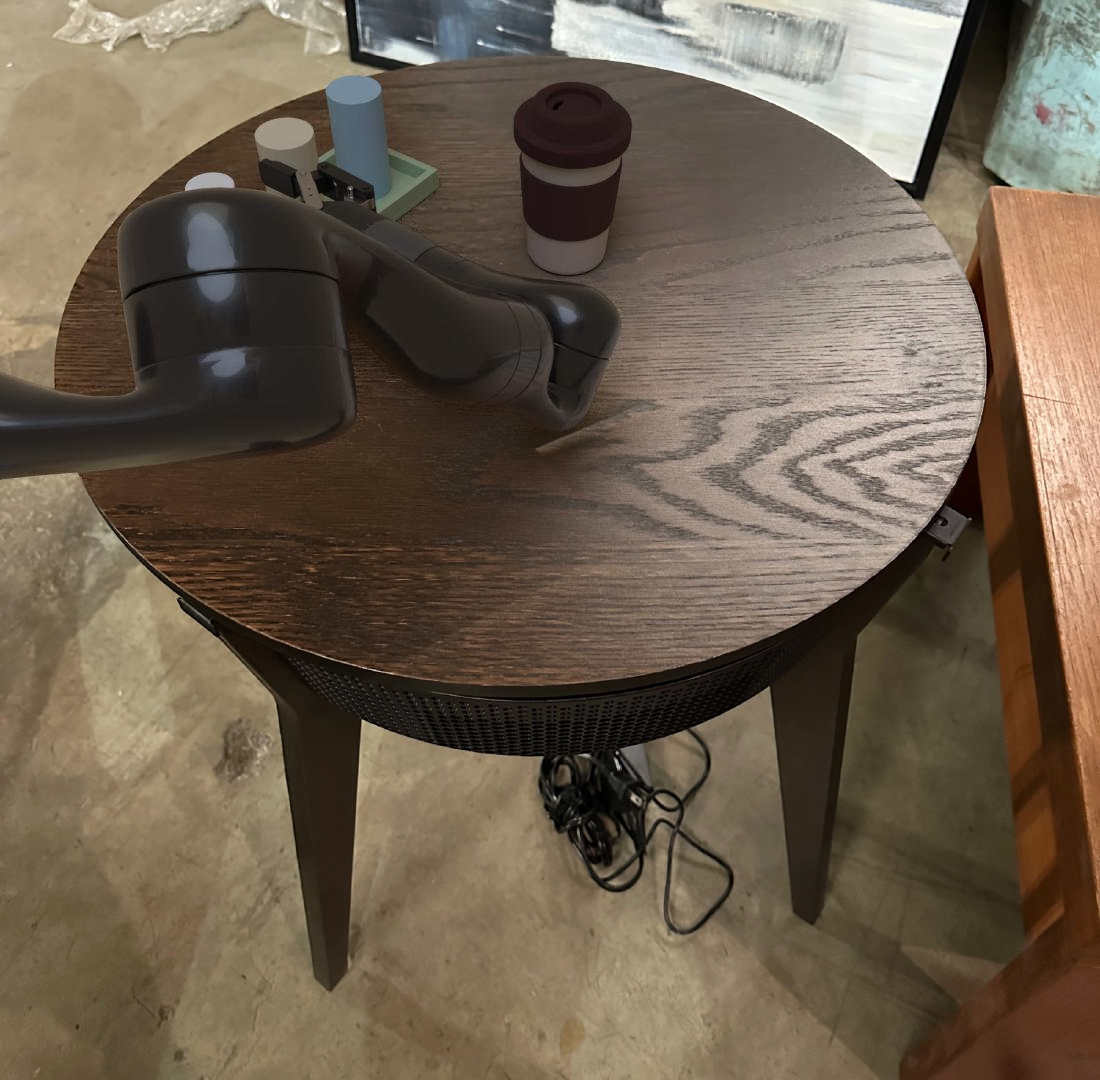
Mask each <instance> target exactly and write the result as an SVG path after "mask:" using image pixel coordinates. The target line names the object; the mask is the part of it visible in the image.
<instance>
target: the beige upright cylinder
mask: <svg viewBox="0 0 1100 1080" xmlns="http://www.w3.org/2000/svg"><path fill="white" fill-rule="evenodd" d="M254 140H255V145H256V150H257V153H258V154H257V155H258V158H259V162H260V161H262V160H263V159H265V158H267V159H269V160H271V161H279V162H282V163H284V164H286V165H288V166H290V167H292V168H295V169H297V170H300V169H307V170H309V171H310V172H311V171H314V170H317V164H318V163H319V160H318V158H319V155H318V154H319V153H318V148H317V143H316V137H315V131H314V127H313V126H312V125H311V124H310V123H309V122H308V121H306V120H303V119H300V118H297V117H279V118H273V119H270V120H268V121H265V122H264V123H262V124H260V125H259V126H258V127H257V129H256V130H255V132H254ZM264 187H265V192H271V193H275V194H278V195H282V196H285V197H288V198H291V197H289V196H287V195H285V194H283V193H280V192H278V191H276V190H274V189H272V188H270V187H268V186H266V185H265V184H264ZM319 196H320V198H321V201H325V196H324V195H323V194H322V193H321V194H319ZM291 199H293V198H291ZM294 200H297V201H301V199H300V196H299V197H298V198H296V199H294Z"/></svg>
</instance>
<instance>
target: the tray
mask: <svg viewBox="0 0 1100 1080" xmlns="http://www.w3.org/2000/svg"><path fill="white" fill-rule="evenodd" d="M388 155H389V165H390V174H391V184H392V187H391V190H390V192H389V193H388V194H387V195H386V196H384V197H382V198H380V199H378V200H375V202H376V210H377V213H378V214H380V215H383V216H385V217H387V218H389V219H391V220H393V221H395V222H397V221H398V220H399V219H400V218H402V217H403V216H404V215H405V214H407V213H408V212H410V211H411V210H412V209H414V208H415V207H416V206H417V205H419V204H420V203H421V202H423V201H424V200H425V199H426V198H428V197H429V196H430V195H432V194H433V193H434V192H436V191H437V190H438V189H440V183H439V181H440V180H439V169H438V168H436V167H433V166H431V165H430V164H429V165H428V164H427V163H424V162H422V161H419V160H417V159H416V158H413V157H411V156H409V155H406V154H404V153H401V152H399V151H397V150H394V149H392V148H390V147H388ZM318 160H319V163H320V162H329V163H331V164H333V165H335V166H337V163H336V157H335V150H334V147H333V148H331V149H330V150H328V151H327V152H325V153H324V154H322V155H321V156H318ZM334 184H335V185H336V183H335V182H334ZM336 186H337V185H336ZM324 196H325V195H324ZM325 201H334V200H332V199H330V198H328V197H326V196H325Z"/></svg>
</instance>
